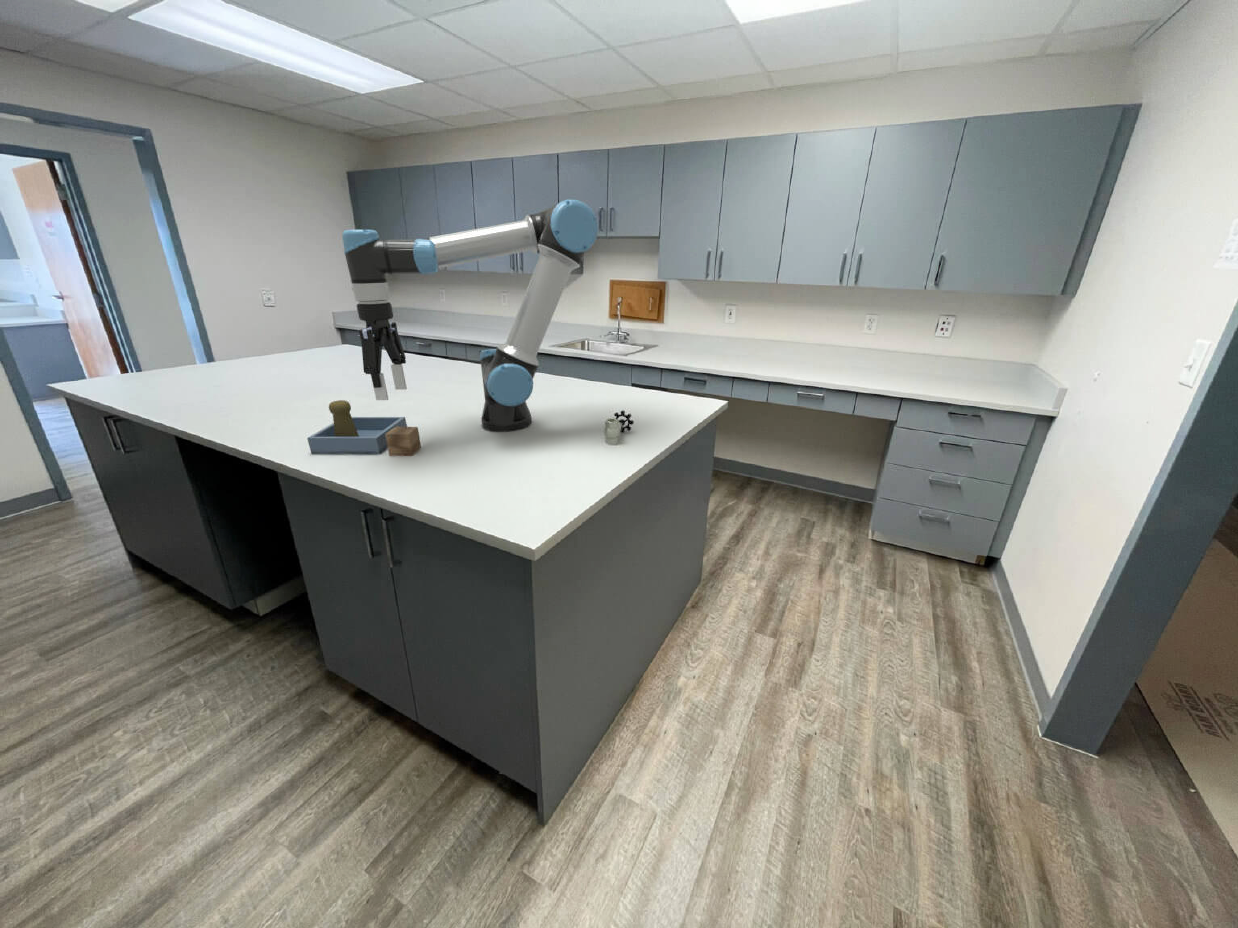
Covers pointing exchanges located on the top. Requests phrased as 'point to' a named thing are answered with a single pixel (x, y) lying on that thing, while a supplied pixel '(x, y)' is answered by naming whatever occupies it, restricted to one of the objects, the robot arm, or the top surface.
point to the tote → (366, 443)
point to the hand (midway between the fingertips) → (392, 394)
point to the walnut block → (403, 441)
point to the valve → (616, 427)
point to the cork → (342, 419)
